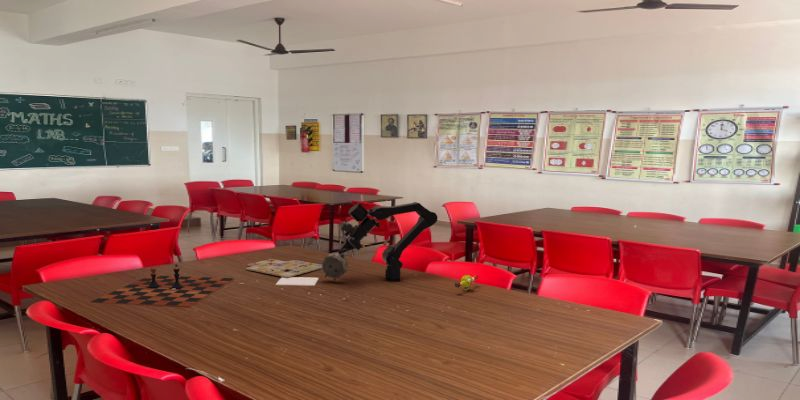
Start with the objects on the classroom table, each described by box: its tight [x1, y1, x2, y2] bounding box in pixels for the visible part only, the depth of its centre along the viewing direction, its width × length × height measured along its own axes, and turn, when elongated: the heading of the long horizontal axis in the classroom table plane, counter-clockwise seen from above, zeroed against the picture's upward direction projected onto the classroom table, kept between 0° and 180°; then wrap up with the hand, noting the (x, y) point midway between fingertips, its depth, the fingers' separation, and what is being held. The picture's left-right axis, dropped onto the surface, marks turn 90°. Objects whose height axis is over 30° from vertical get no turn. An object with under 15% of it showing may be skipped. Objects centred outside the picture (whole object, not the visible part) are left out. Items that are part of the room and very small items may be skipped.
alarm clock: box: [319, 249, 350, 283], centre depth 227 cm, size 11×5×16 cm
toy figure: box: [454, 274, 479, 292], centre depth 220 cm, size 18×6×7 cm, turn 143°
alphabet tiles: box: [245, 258, 322, 278], centre depth 253 cm, size 33×28×1 cm
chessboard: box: [90, 263, 235, 308], centre depth 212 cm, size 40×40×11 cm
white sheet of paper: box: [275, 276, 320, 287], centre depth 229 cm, size 17×12×1 cm
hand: (338, 253), depth 227 cm, fingers closed, pressing on alarm clock
